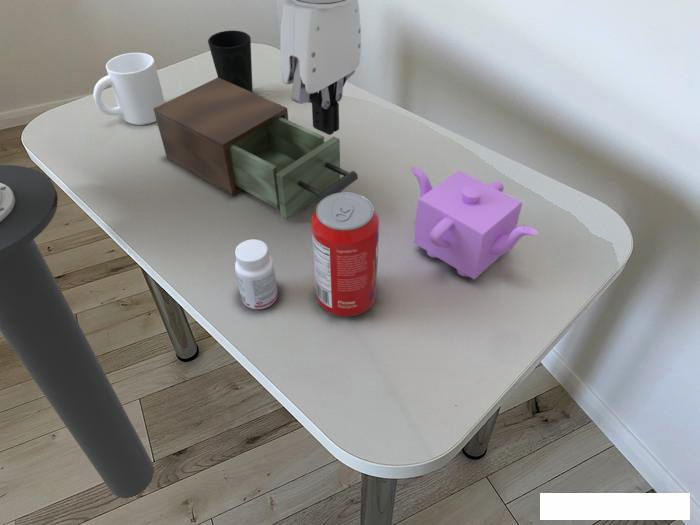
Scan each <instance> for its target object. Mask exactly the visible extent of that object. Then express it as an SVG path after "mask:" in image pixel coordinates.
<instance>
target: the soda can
mask: <svg viewBox="0 0 700 525" xmlns="http://www.w3.org/2000/svg"><path fill="white" fill-rule="evenodd" d="M310 226H311V227H310V228H311V229H310V230H311V231H310V232H311V242H312V243H311V244H312V256H313V257H312V258H313V270H314V284H315V296H316V300H317V302H318V304H319V305H320V307H321V308H322V309H323V310H325V311H326V312H327V313H329V314H331V315H334V316H338V317H355V316H357V315H361V314H363V313H365V312H366V311H368V310H369V309H370V308H371V307H372V306H373V305H374V303H375V301H376V298H377V293H378V292H377V291H378V267H379V266H378V264H379V261H378V260H379V238H380V219H379V215H378V213H377V212H376V211H375V209H374V206H373V204H372V202H371V201H370V200H369V199H368V198H367V197H366V196H363V195H362V194H359V193H354V192H349V191H343V192H342V191H341V192H340V193H335V194H332V195H329V196H327V197H325V198H324V199H323V200H320V201H319V202H318V204H317V206H316V209H315V211H314V212H313V214H312V216H311V220H310Z"/></svg>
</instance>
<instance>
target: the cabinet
mask: <svg viewBox="0 0 700 525" xmlns="http://www.w3.org/2000/svg"><path fill="white" fill-rule="evenodd" d="M288 111H289V110H288V107H287V106H284V105H282V104H279V103H277V102H275V101H272V100H270V99H268V98H266V97H263V96H261V95H258V94H256V93H254V92H253V93H252V92H250V91H248V90H245V89H243V88H241V87H239V86H236V85H234V84H232V83H230V82H227V81H225V80H223V79H221V78H218V77H216V78H213V79H212V80H210V81H207V82H205V83H203V84H201V85H199V86H197V87H195V88H193V89H191V90H189V91H187V92H185V93H182V94H181V95H179V96H177V97H174V98H172V99H171V100H168V101H165V103H164V104H162V105H160V106H158V107H156V108H154V113H155V116H156V120H157V121H156V123H157V127H158V131H159V134H160V138H161V142H162V146H163V149H164V153H165V157H166V159H167V160H169V161H170V162H172V163H174V164H175V165H177V166H179V167H181V168H182V169H184V170H186V171H188V172H189V173H191V174H193V175H194V176H196V177H198V178H200V179H202V180H203V181H205V182H207V183H208V184H210V185H212V186H214V187H215V188H217V189H219V190H221V191H222V192H224V193H226V194H227V195H229V196H231V197H235V195H237V194H239V193H240V192H242V191H244V190H243V189H241V188H239V187H238V186H236V185H234V179H233V174H232V168H231V163H230V157H229V152H228V146H230V145H232V144H233V143H235V142H237V141H239V140H240V139H242V138H244V137H246V136H247V135H249V134H251V133H253V132H254V131H256V130H258V129H259V128H261V127H263V126H265V125H266V124H268V123H270V122H272V121H273V120H275V119H277V118H279V117H282V118H285V119H287V120H289V113H288Z"/></svg>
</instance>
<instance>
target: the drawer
mask: <svg viewBox="0 0 700 525" xmlns="http://www.w3.org/2000/svg"><path fill="white" fill-rule="evenodd" d="M340 143H341V142H340V138H339V137H336V136H331V137H330V138H329V139H327V140H326V141H325V136H324V135H322V134H320V133H318V132H315V131H313V130H312V129H309V128H306V127H304V126H302V125H300V124H298V123H297V122H296V123H295V122H293V121H291V120H289V119H288V120H287V119H285V118H282V117H279V118H277V119H275V120H273V121H272V122H270V123H268V124H266V125H265V126H263V127H261V128H259V129H258V130H256V131H254V132H253V133H251V134H249V135H247V136H246V137H244V138H242V139H240V140H239V141H237V142H235V143H233V144H232V145H230V146H228V152H229V157H230V163H231V168H232V174H233V179H234V185H236V186H238V187H239V188H241V189H243V190H242V191H245V192H246V193H248V194H250V195H251V196H254V197H255V198H257V199H259V200H260V201H263V202H264V203H266V204H268V205H270V206H271V207H273V208H275V209H277V210H280V217H281V218H283V219H285V220H289V219H290V218H291V217H293V216H294V215H295V214H297V213H298V212H300V211H301V210H302V209H304V208H305V207H306V206H308V205H309V204H310V203H312V202H313V201H315V200H316V199H317V198H319V200H320V201H321V200H323V199H324V198H325V197H327V196H329V195H332V194H335V193H341V192H342V191H344V190H345V189H346V188H348V187H349V186H350V185H352V184H353V183H354V182H356V181H357V180H358V178H359V176H358V173H357V172H356V171H354V170H351V171H348V170H347V171H346V170H345V169H343V168H341V144H340ZM341 176H342V177H341Z"/></svg>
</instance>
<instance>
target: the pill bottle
mask: <svg viewBox="0 0 700 525" xmlns="http://www.w3.org/2000/svg"><path fill="white" fill-rule="evenodd" d="M234 255H235V260H236V261H235V263H234V271H235V275H236V280H237V284H238V289H239V290H238V291H239V295H240V298H241V299H240V300H241V301H242V303H243V304H244V306H246V307H247V308H249V309H253V310H262V309H266V308H269V307H270V306H272V305H273V304H274V303H275V302H276V301H277V298H278V293H279V292H278V286H277V279H276V272H275V265H274V261H273V257H272V256H271V255H270V252H269V248H268V245H267V244H266V243H265V242H264V241H262V240H261V239H246V240H244V241H242V242H240V243H239V244H237V246H236V248H235V251H234Z"/></svg>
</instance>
